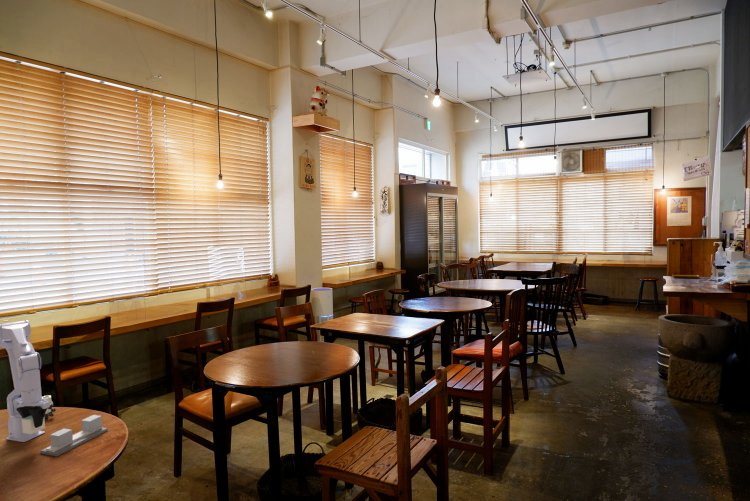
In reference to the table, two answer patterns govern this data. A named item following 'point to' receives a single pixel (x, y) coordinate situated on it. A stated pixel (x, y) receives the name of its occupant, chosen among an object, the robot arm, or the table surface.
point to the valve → (48, 398)
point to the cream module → (31, 425)
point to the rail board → (74, 436)
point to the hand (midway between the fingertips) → (34, 425)
